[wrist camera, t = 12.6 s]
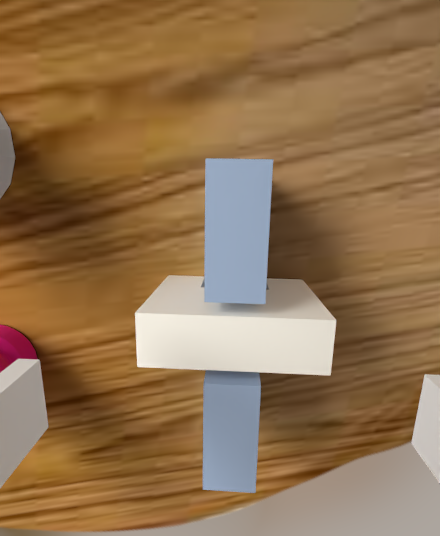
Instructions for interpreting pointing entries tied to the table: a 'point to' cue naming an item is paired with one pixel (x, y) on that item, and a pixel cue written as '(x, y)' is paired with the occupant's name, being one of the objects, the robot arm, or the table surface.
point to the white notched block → (235, 330)
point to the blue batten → (234, 291)
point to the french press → (5, 156)
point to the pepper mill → (14, 347)
